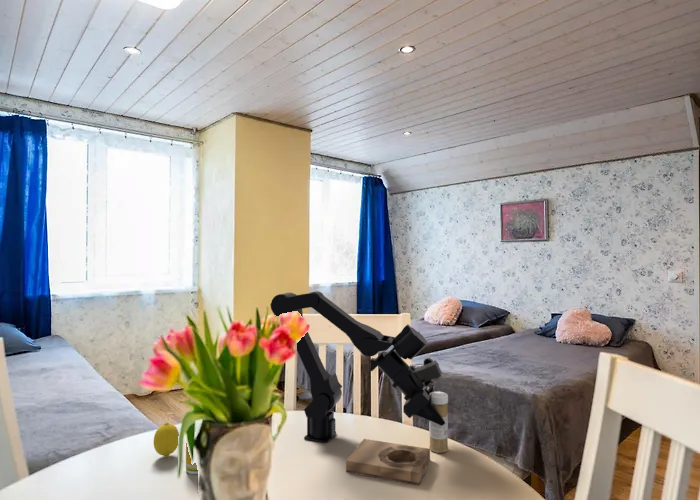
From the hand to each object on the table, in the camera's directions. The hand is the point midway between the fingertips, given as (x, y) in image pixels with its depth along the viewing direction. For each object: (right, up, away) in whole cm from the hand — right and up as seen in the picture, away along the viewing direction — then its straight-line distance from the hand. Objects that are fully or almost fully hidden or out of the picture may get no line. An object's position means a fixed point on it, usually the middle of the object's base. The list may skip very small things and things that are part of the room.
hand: (444, 420), depth 105 cm
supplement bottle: (-56, -7, -9) cm, 57 cm away
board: (-14, -7, -8) cm, 17 cm away
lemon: (-66, -7, -3) cm, 66 cm away
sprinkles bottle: (-1, -7, 0) cm, 7 cm away
